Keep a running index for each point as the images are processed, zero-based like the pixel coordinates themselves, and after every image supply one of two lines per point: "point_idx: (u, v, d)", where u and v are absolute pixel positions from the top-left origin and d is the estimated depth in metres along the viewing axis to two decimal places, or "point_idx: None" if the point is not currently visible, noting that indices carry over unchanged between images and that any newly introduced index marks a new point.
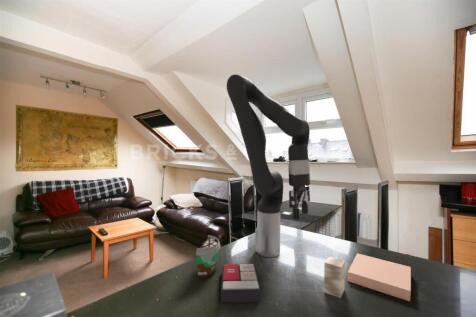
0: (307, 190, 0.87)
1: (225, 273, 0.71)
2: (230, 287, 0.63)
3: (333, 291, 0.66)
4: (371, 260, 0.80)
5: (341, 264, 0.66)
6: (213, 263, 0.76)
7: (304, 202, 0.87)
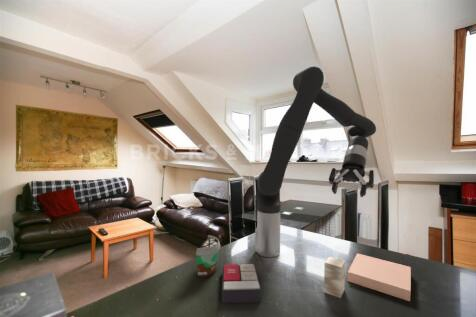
0: (336, 174, 0.86)
1: (225, 273, 0.71)
2: (231, 287, 0.63)
3: (333, 291, 0.66)
4: (371, 260, 0.80)
5: (341, 264, 0.66)
6: (213, 263, 0.76)
7: (337, 182, 0.83)
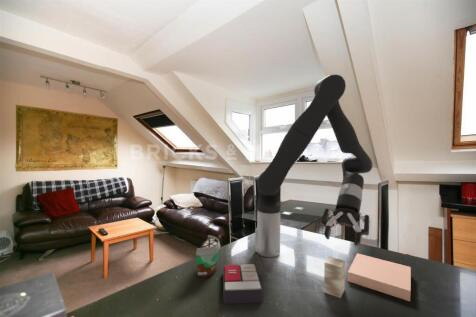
0: (330, 215, 0.81)
1: (226, 274, 0.70)
2: (232, 288, 0.63)
3: (333, 291, 0.66)
4: (371, 260, 0.80)
5: (341, 264, 0.66)
6: (213, 263, 0.76)
7: (330, 226, 0.77)
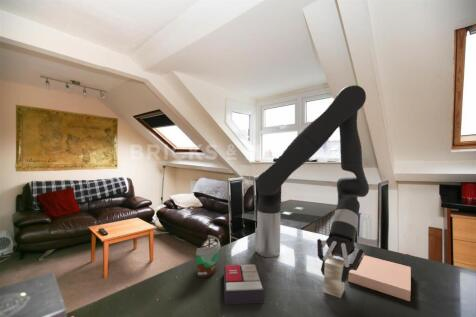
0: None
1: (227, 274, 0.70)
2: (233, 288, 0.63)
3: (333, 291, 0.66)
4: (371, 260, 0.80)
5: (341, 264, 0.66)
6: (213, 263, 0.76)
7: None
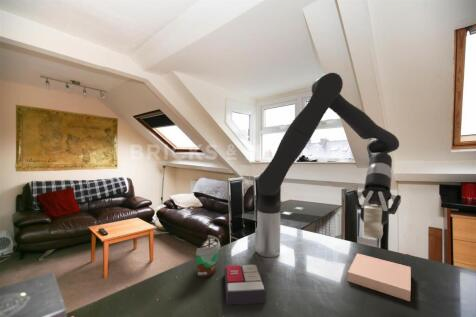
0: (359, 197, 0.79)
1: (228, 275, 0.70)
2: (235, 289, 0.63)
3: (373, 233, 0.70)
4: (371, 260, 0.80)
5: (380, 208, 0.70)
6: (213, 263, 0.76)
7: None
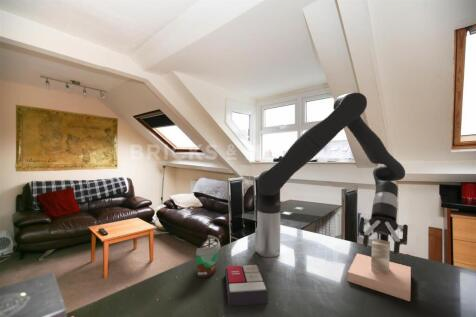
0: (365, 224, 0.82)
1: (230, 275, 0.70)
2: (237, 289, 0.62)
3: (380, 268, 0.72)
4: None
5: (388, 244, 0.72)
6: (213, 263, 0.76)
7: (368, 235, 0.78)
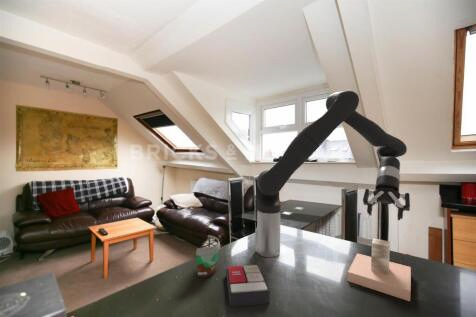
0: (370, 195, 0.88)
1: (231, 276, 0.69)
2: (239, 290, 0.62)
3: (380, 268, 0.72)
4: None
5: (388, 244, 0.72)
6: (213, 263, 0.76)
7: (371, 204, 0.85)
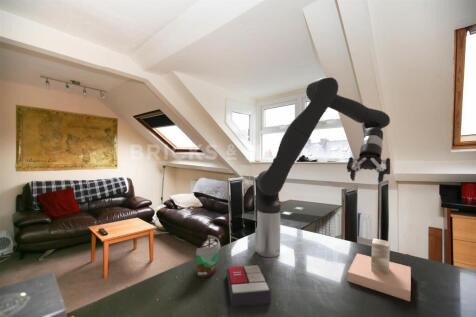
0: (354, 163, 0.92)
1: (232, 276, 0.69)
2: (240, 290, 0.62)
3: (380, 268, 0.72)
4: None
5: (388, 244, 0.72)
6: (213, 263, 0.76)
7: (355, 170, 0.88)
